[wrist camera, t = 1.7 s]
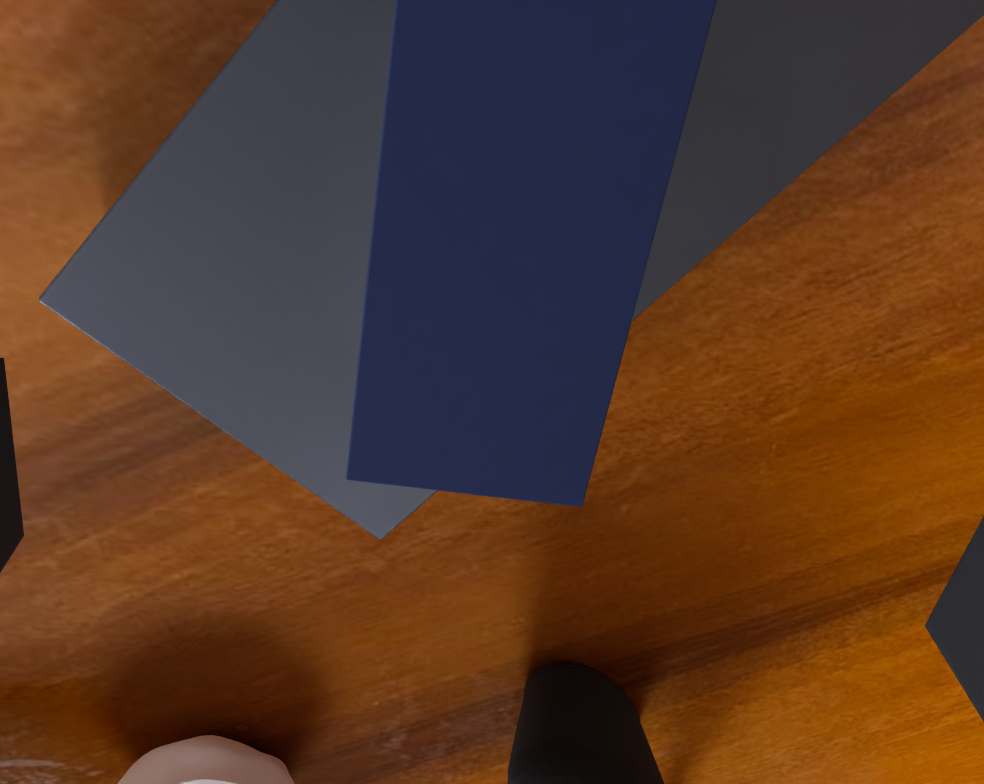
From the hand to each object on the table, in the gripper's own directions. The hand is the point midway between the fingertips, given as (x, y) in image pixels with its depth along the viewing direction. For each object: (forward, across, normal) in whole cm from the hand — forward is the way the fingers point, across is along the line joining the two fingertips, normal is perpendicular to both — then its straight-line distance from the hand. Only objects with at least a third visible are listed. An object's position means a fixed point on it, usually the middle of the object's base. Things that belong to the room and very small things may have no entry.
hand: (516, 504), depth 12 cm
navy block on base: (+16, 0, 0) cm, 17 cm away
